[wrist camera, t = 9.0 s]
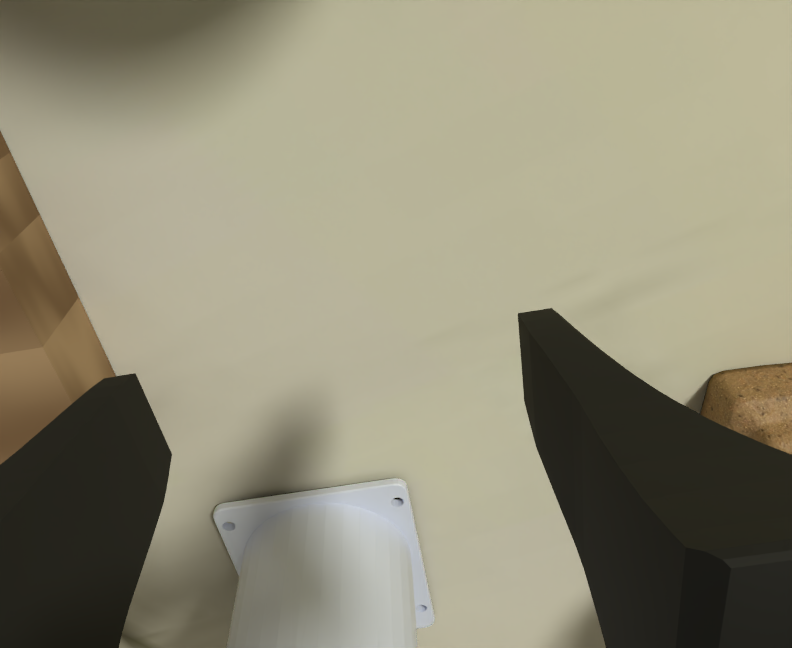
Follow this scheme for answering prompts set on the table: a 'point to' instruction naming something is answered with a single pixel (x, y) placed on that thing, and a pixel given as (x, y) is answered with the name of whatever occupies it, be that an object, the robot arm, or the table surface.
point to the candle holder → (753, 403)
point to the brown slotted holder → (37, 321)
